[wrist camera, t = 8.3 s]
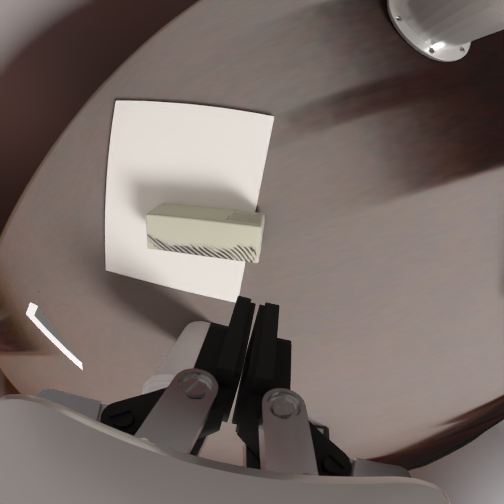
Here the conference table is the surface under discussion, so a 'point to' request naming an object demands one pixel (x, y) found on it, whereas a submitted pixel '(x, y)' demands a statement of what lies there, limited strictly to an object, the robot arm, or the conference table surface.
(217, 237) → the box
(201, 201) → the mat
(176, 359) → the coffee cup
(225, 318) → the conference table surface
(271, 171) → the conference table surface
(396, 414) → the conference table surface
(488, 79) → the conference table surface
